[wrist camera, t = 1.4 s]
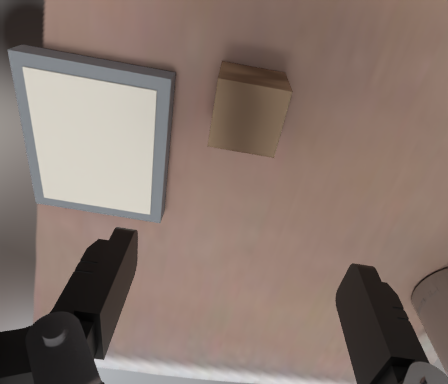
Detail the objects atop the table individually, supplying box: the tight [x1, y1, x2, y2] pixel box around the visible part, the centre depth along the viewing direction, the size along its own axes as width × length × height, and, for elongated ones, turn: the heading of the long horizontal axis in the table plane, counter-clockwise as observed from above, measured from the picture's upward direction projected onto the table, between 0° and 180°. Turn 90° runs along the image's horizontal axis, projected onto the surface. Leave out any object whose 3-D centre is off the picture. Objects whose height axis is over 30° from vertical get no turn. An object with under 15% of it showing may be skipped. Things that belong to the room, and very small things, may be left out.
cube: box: [208, 61, 292, 158], centre depth 25 cm, size 5×5×5 cm
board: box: [8, 45, 176, 223], centre depth 29 cm, size 12×14×2 cm
